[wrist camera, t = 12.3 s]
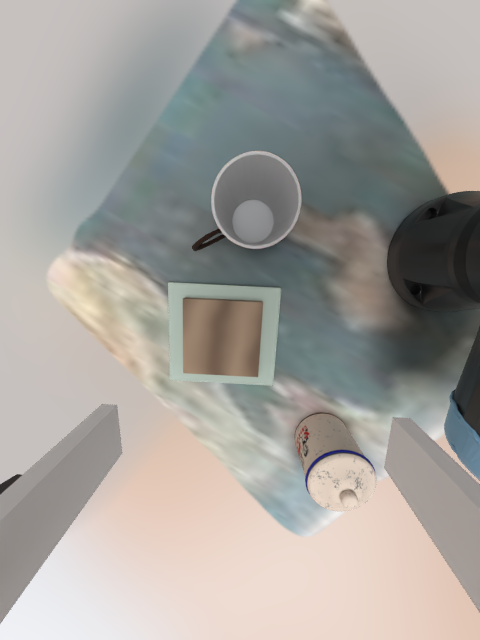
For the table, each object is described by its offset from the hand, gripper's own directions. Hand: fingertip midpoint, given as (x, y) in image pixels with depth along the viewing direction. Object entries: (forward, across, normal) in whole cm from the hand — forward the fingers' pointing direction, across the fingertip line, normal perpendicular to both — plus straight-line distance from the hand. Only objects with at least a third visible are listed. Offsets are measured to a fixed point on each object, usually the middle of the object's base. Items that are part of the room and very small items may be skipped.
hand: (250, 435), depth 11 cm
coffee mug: (+25, +2, -14) cm, 28 cm away
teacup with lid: (+25, -12, +20) cm, 35 cm away
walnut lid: (+23, +4, +2) cm, 24 cm away
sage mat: (+24, +4, +2) cm, 25 cm away
